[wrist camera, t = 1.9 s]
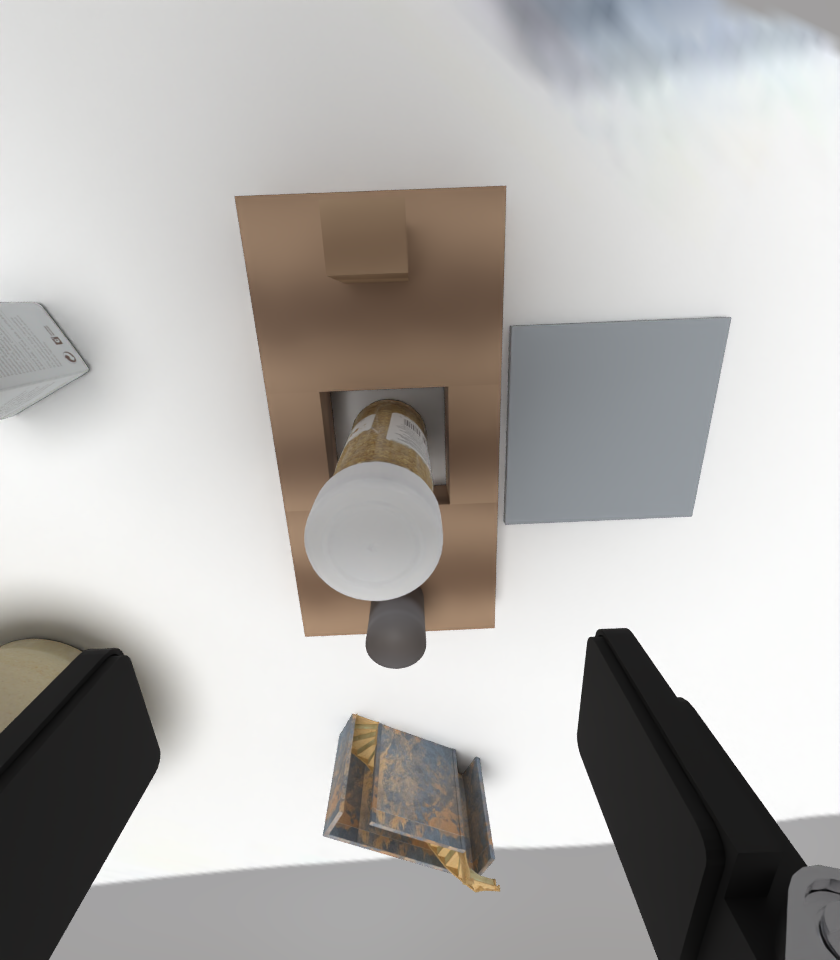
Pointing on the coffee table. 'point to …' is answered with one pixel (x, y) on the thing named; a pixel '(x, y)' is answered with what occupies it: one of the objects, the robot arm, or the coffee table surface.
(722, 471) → the coffee table surface
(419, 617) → the wooden peg board
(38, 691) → the planter bowl
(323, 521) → the sprinkles bottle
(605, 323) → the pad
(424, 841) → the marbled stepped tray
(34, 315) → the skincare box
